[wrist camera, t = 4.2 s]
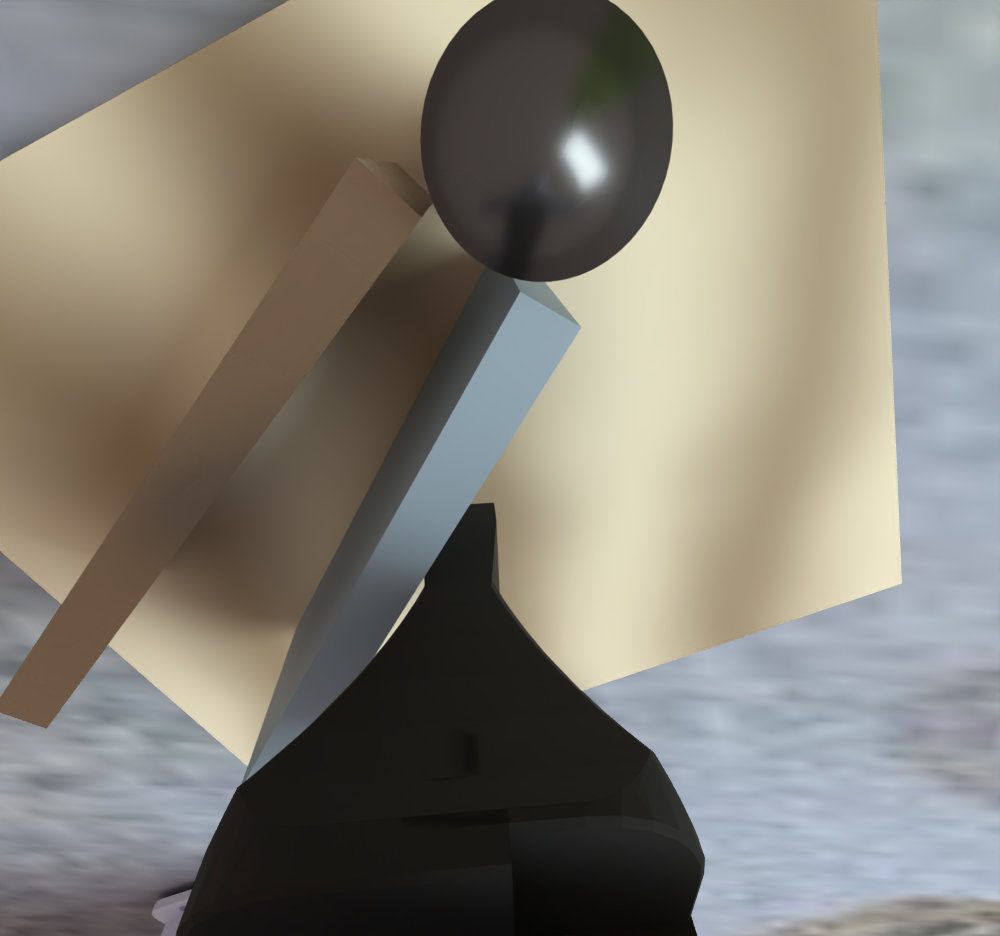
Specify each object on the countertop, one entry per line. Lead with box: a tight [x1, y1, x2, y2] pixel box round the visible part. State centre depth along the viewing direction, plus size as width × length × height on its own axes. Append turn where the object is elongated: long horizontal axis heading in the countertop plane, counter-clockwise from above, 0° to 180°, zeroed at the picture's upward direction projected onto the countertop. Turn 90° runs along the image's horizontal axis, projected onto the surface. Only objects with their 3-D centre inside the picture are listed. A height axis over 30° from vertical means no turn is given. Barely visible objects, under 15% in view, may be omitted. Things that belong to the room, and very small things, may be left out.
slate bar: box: [242, 266, 581, 783], centre depth 10 cm, size 10×1×4 cm, turn 150°
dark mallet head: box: [0, 0, 673, 728], centre depth 8 cm, size 12×2×5 cm, turn 139°
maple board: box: [0, 0, 902, 766], centre depth 12 cm, size 19×16×1 cm
